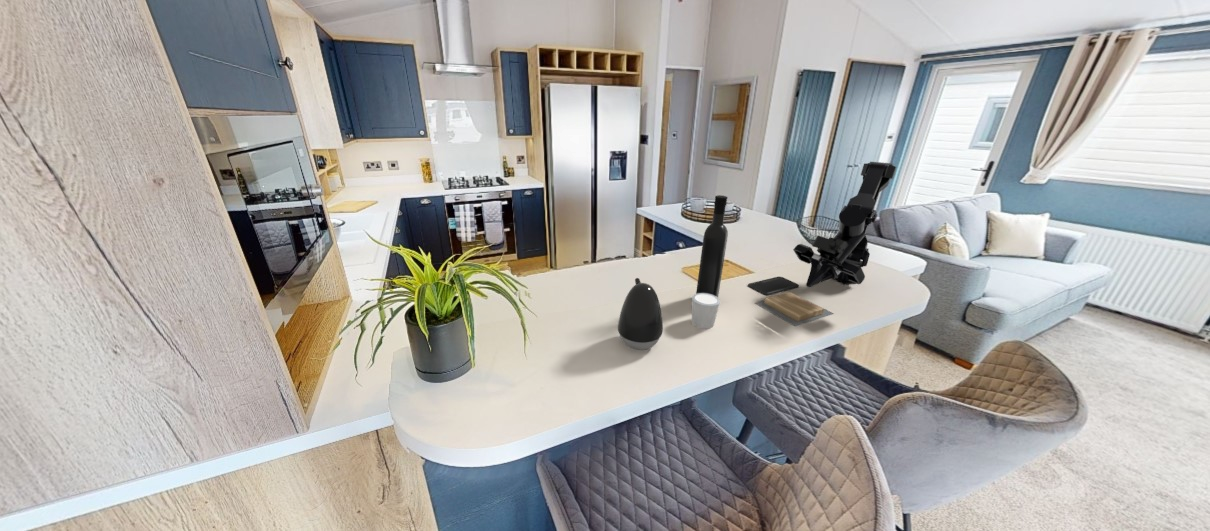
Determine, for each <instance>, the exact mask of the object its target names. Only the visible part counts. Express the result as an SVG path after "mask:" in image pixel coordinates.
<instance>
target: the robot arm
mask: <svg viewBox="0 0 1210 531" xmlns="http://www.w3.org/2000/svg"><path fill="white" fill-rule="evenodd" d="M896 171H897V167H896V166H894V163H891V162H879V161H869V162H868V163H863V165H862V169H861V172H860V176H862V183H861V185H860V187H859V189H858V192H857V194H856V195H855V196H853V197H851V198H850V199H849V200H848V202H847V205H844V206H843V207H842V209H841V211H840V212H839V214H838V232H837V233H836V234H835V236H833V237H831V236H830V237H828V238H827V237H824V236H821V235H817V236H816V238H815V240H814V241H813V244H812V245H811V246H812V247H813V248H817V249H816V251H817V252H818V253H817V252H814V250H813V248H812V247H811V246H808V245H806V244H803V243H800V244H799V243H798V244H797V245H796V246H794V248H793V249H792V250H793V252H794V253H795V255H796V257H797V259H799V261H800V262H804V263H806V264H810V267H811V268H810V270H809V274H808V277H807V281H806V284H805V285H806V287H807V288H812V287H814V286H817V285H818V284H821V283H823V282H825V281H828V280H831V279H833V280H836V281H837V282H839V283H841V284H843V285H846V284H847V285H849V284H857V285H861V284H862V283H863V281H864V280H865V278H866V275H865V273H864V270H863V267H867V265H868V262H869V258H870V252H869V248H868V243H869V242H868V239H867V235H866V233H867V230H868V228H869V225H871V224H873V223H875V222H876V220H877V218H878V214H877V210H875V206H876V204H877V201H878V198H879V195H880V193H881V192H882V191H883V190H885V189H886V188H887V187H888V186H889V184H890V182H891V181H890V180H894V177H895V175H896Z"/></svg>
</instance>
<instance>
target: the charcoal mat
mask: <svg viewBox="0 0 1210 531" xmlns="http://www.w3.org/2000/svg"><path fill="white" fill-rule="evenodd" d="M764 302H765V299H763V300H760V301H757V302H754V304H755V305H757V306H759V307H760V308H762V309H764V310H766V311H768V312H769V313H771V314H773V315H774V316H777V317H778V318H780V319H782V320H783V321H785V322H786V323H789V324H790V325H792V326H794V327H797V326H800V325H803V324H807V323H809V322H813V321H817V320H819V319H822V318H826V317H829V316H832V315H834V314H835V313H834V312H832V311H829V310H828V309H826V308H824V307H822V306H820V305H818V304H815V303H813V302H812V301H810V302H811V303H813V304H815V305H817V306H819V307H821V308H823V309H824V312H823V314H821V315H817V316H814V317H811V318H808V319H805V320H801V321H798V322H797V321H796V320H794V319H792V318H790V317H788V316H787V315H785V314H783V313H781V312H779V311H777V310H776V309H774V308H772V307H770V306H768V305H767V304H765V303H764Z"/></svg>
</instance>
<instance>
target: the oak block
mask: <svg viewBox="0 0 1210 531" xmlns="http://www.w3.org/2000/svg"><path fill="white" fill-rule="evenodd" d="M764 300H765V302H764V303H765V304H767V305H768V306H770V307H772V308H774V309H776V310H777V311H779V312H781V313H783V314H785V315H787V316H788V317H790V318H792V319H794V320H796V321H797V322H798V321H801V320H805V319H808V318H811V317H814V316H817V315H821V314H823V312H824V309H825V308H824V307H822V306H820V305H818V304H816V305H815V303H814V304H813V302H812V301H809V300H807V299H805V298H803V297H802V296H799V295H797V294H795V293H794V292H791V291H789V292H784V293H781V294H777V295H774V296H770V297H766V298H765V299H764ZM811 302H812V303H811ZM817 305H818V306H817ZM819 306H820V307H819ZM821 307H822V308H821ZM823 308H824V309H823Z"/></svg>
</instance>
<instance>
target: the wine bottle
mask: <svg viewBox="0 0 1210 531" xmlns="http://www.w3.org/2000/svg"><path fill="white" fill-rule="evenodd" d="M727 202H728V196H727V195H715V197H714V208H713V214H712V222H711V223H710V224H709V225H708V226H707V227H706V229H705V230H704V233H703V239H702V247H701V253H700V254H701V255H700V262H699V269H698V270H699V271H698V276H697V284H696V292H695V294H697V293H708V294H712V295H714V296H716V297H718V298H719V296H720V295H719V294H720V288H721V281H722V275H723V268H724V262H725V255H726V251H727V250H726V249H727V243H728V237H729V236H728V235H729V233H728V232H729V231H728V229H727V226H725V224H724V221H725V220H724V219H725V212H726V206H727Z"/></svg>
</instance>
